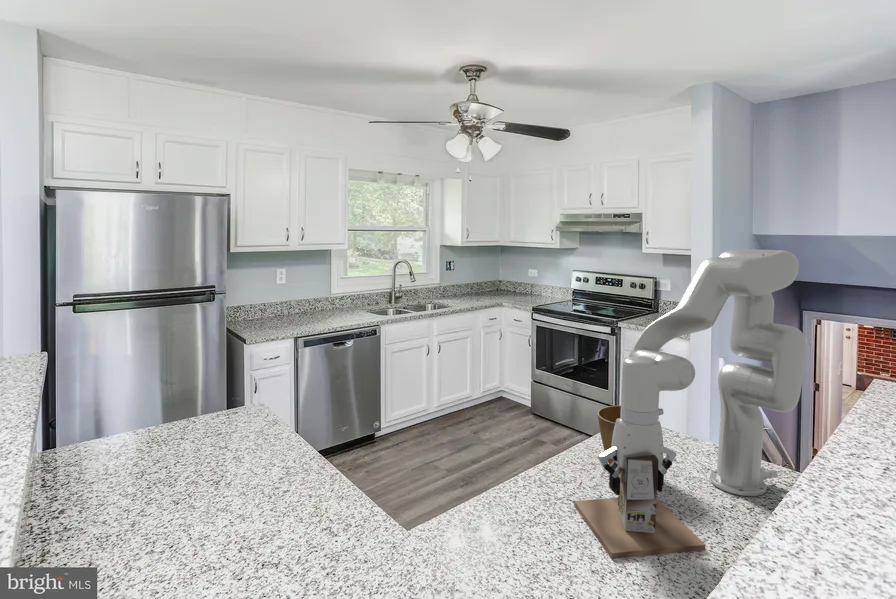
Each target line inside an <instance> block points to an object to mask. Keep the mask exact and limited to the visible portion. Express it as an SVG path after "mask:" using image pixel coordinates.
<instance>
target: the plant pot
mask: <svg viewBox="0 0 896 599" xmlns="http://www.w3.org/2000/svg"><path fill="white" fill-rule="evenodd" d="M620 416H621V405H609V406H604V407H602V408H600V409H599V410H598V411H597V421H598V426H599V433H600V437H601V442H602V446H603V451H604V452H605V451H607V450H609V449H610V448H611V445H612V437H613V431H614V427H615V423H616V420H617V419H618V418H620ZM613 461H614V460H612V459H611V458H610V459H608V464H609V465H611V463H612V462H613ZM618 466H619V465H618Z"/></svg>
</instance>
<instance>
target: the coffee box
mask: <svg viewBox="0 0 896 599" xmlns="http://www.w3.org/2000/svg"><path fill="white" fill-rule="evenodd" d="M658 464H659V460H658V459H657V457H656V456H655V455H648V456H637V457H627V461H626V469H623V471H622V472H621V473H620V474H619V475H618V476H619V477H620V494H619V495H617V496H618V497H617V498H618V511H619V514H620V517H621V520H622V523H623V525H624V528H625V531H634V532H645V533H655V523H656V503H657V499H658V491H657V484H658Z"/></svg>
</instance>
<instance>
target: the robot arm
mask: <svg viewBox="0 0 896 599" xmlns="http://www.w3.org/2000/svg"><path fill="white" fill-rule="evenodd" d="M799 269H800V263H799V260H798V258H797V257H796V255H795V254H793V253H792V252H791V251H788V250H785V249H784V250H783V249H755V248H754V249H753V248H752V249H751V248H741V249H740V248H739V249H729V250H726V251H724V252H722V253H721V254H720V255H719V256H717V257H716V256H715V257H709V258H707V259H704V261H701V263H700V265H699V266H698V268H697V269H696V271H695V273H694V275H693V276H692V278H691V280H690V282H689V284H688V286H687V287H686V289H685V291H684V292H683V295H682V296H681V298H680V300H679V302H678V303H677V305H676V307H675V308H674V309H672V310H670V311H668V312H666V313H665V314H664V315H662V316H660V317H658V318H657V319H656V320H654V321H653V322H652V323H650V324H649V325H648V326H646V327H645V329H644V330H642V332H641V333H640V335H639V336H638V338H637V340H636V341H635V344H634V345H633V347H632V349H631V350H630V353H629V356H628V357H626V358H625V359H624V360H623V362H622V366H621V367H622V368H621V370H622V371H621V394H620V395H621V396H620V406H621V416H620V418H618V419H617V420H616V423H615V427H614V431H613V437H612V445H611V448H610V449H609V450H607V451H604V452H601V453H600V454H598V456H597V458H598V460H599V462H600V464H601V467H602V468H604V470H605V471H606V472H608V475H609V477H608V478H609V479H608V480H609V481H608V487H609V489H610V490H611V491H612V492H613V493H614V494H615V495H616V496H618V495H619V494H620V477H619V474H620V473H621V472H622V471H623V469H626V461H627V457H637V456H648V455H655V456H656V457H657V459H658V460H659V464H658V484H657V493H658V492H659V493H662V492H663V487H664V485H665V484H664V483H665V482H664V481H665V475H666V474H667V473H668V471H667V470H669V469H670V467H671V466H672V465H673V462H674V461H675V458H676V456H677V452H676V451H674V450H673V449H670V448H668V447H667V446H665V445H664V436H663V435H664V434H663V431H662V430H663V429H662V425H661V424H662V423H661V421H660V420H659V419H660V418H659V416H663V415H664V409H663V408H662V407H661V408H660V407H659V402H660V392H664V391H666V392H667V391H668V392H672V391H673V392H677V391H682V390H685V389H687V388H688V387H690V386H691V385H692V383H693V382H694V380H695V376H696V369H695V366H694V365H693V363H692V362H691V361H690V360H689V359H688V358H685V357H684V356H680V355H676V354H672V353H668V352H664V351H661V349H662V348H663V347H664V345H666V344H667V343H669V342H670V341H671V340H674V339H676V338H679V337H682V336H685V335H689V334H695V333H698V332H702V331H705V330H708V329H711V327H713V326H714V324H715V323H716V321H717V319H718V317H719V315H720V313H721V311H722V310H723V307H724V306H725V304H726V302H727V300H728V298H729V297H731V296H732V297H733V314H732V322H731V329H730V336H729V337H730V338H729V345H730V347H729V348H730V350H731V351H732V353H733V354H734V355H736V356H739V357H742V358H744V359H749V360H753V361H759V362H763V363H767V364H772V367H773V368H768V367H766V366H765V367H764V366H761V365H756V364H753V363H752V364H751V363H748V362H747V363H746V362H740V361H739V362H738V361H737V362H736V361H734V362H730V363H726V364H725V365H723V366H722V367H721V368H720V371H719V373H718V374H717V375H718V376H717V386H718V392H719V393H718V394H719V399H720V401H719V402H720V416H719V417H720V421H719V435H718V446H717V447H718V450H717V465H716V469H715V470H713V471H711V472H710V474H709V481H710V482H711V484H712V485H713V486H715V487H716V488H718V489H720V490H722V491H724V492H727V493H731V494H734V495H738V496H742V497H743V496H744V497H757V496H758V497H759V496H762V495H764V494H766V492H767V483H766V482H765V481H766V480H767V479H777V478H778V476H779V474H778V472H777V470H776V469H768V470H766V469H765V467H764V466H762V458H763V457H762V455H763V442H764V430H765V429H764V427H765V421H764V416H763V414H762V411H761V408H763V409H766V410H769V411H773V412H778V413H789V412H791V411H793V410H794V409H795V408H796V406H798V403H799V401H800V398H801V391H802V386H803V379H804V378H803V377H804V371H805V363H806V359H807V358H806V356H807V340H806V337H805V335H804V333H803V332H802V331H801V329H799V328H797V327H795V326H791V325H788V324H787V325H786V324H780V323H776V322H775V323H774V314H775V300H774V297H773V295H772V293H774V292H777V291H779V290H783V289H785V288H787V287H789V286H790V285H792V284H793V282H794V281H795V280H796V278H797V277H798V275H799V274H798V273H799V271H800V270H799ZM664 455H665V457H664ZM610 458H611V459H612V460H614V461H613V462H612V463H611V465H609V463H608V459H610ZM618 465H619V466H618ZM764 480H765V481H764Z"/></svg>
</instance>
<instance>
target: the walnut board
mask: <svg viewBox="0 0 896 599" xmlns="http://www.w3.org/2000/svg"><path fill="white" fill-rule="evenodd" d="M573 506H574V508H575V509H576V510H577V512H578V513H579V514H580V516H581V518H582V519H583V520H584V522H585V524H586V525H587V526H588V527H589V529H590V531H591V532H592V533H593V534H594V536H595V537H596V539H597V540H598V542H599V543H600V544H601V546H602V547H603V549H604V550H605V552H606V553H607V554H608V556H609V557H610V559H612V560H613V559H624V558H634V557H635V558H636V557H645V556H646V557H647V556H654V555H655V556H657V555H666V554H667V555H668V554H669V555H670V554H679V553H688V552H689V553H690V552H699V551H700V552H701V551H702V552H703V551H706V547H707V546H706V543H705V542H704V541H702V540H701V539H700V538H699V537H698V536H697V534H695V533H694V532H693V531H692V530H691V529H690V528H689V527H688V526H687V525H686V524H685V523H684V522H682V520H680V518H678V517H677V516H676V515H675V514H674V513H673V511H671V510H670V509H669V508H668V507H667V506H666V505H665V504H664V503H663V502H662V501H660V499H658V498H657V503H656V523H655V533H645V532H634V531H625V528H624V525H623V523H622V520H621V517H620V514H619V511H618V497H608V498H595V499H583V500H582V499H581V500H574V502H573Z"/></svg>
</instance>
